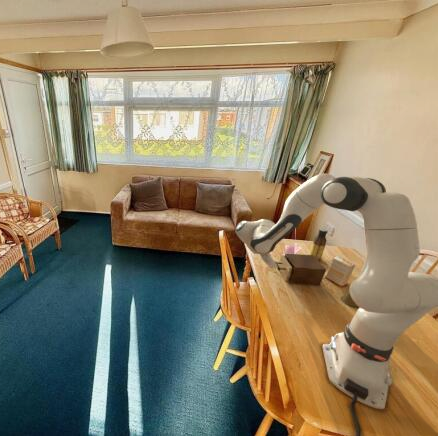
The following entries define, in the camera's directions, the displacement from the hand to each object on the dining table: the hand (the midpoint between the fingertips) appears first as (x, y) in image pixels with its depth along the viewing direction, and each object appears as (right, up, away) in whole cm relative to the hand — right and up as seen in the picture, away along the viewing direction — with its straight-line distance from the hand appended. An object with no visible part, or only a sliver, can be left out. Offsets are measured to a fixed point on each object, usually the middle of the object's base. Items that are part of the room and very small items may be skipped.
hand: (273, 262), depth 124 cm
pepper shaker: (+29, -16, -15) cm, 37 cm away
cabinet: (+15, -8, +2) cm, 18 cm away
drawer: (+11, -7, +2) cm, 13 cm away
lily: (+20, -1, +18) cm, 27 cm away
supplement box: (+33, -10, -1) cm, 35 cm away
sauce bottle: (+35, -1, +18) cm, 40 cm away
